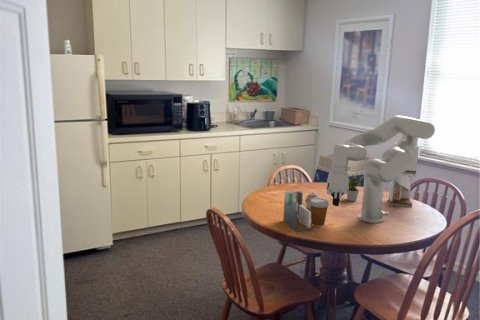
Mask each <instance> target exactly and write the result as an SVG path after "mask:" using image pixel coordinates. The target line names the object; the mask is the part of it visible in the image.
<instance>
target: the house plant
mask: <svg viewBox="0 0 480 320" xmlns="http://www.w3.org/2000/svg"><path fill="white" fill-rule="evenodd" d="M351 174H352V178H349V185H348V191H347V194H346V198H347V200H348V201H349V202H350V201H351V202H356V201H357V199H358V196H359V192H360V189H358V187H360V184H361V182H362V181H363V182H364V179H363V178H364V175H363V176H360V177H359V178H358V179H357V176H358V175H357V173H355V174H353V173H351ZM361 186H362V187H364V184H361Z"/></svg>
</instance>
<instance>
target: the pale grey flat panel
mask: <svg viewBox="0 0 480 320" xmlns="http://www.w3.org/2000/svg"><path fill="white" fill-rule="evenodd" d="M299 194H300V197H299V210H298V220H297V221H299V222H300V223H301V224H303V226H305V228H310V227H311V225H312V224H311V210H309V209H307V207H305V206H304V205H303V204H302V205H301V200H302V201H303V199H302V193H300V192H299Z"/></svg>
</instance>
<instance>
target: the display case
mask: <svg viewBox="0 0 480 320" xmlns="http://www.w3.org/2000/svg"><path fill="white" fill-rule="evenodd" d="M397 142H398V141H396V142H394V144H396V143H397ZM419 148H420V146H419V145H418V146H417V145H416V147H415V149H414V151H413V152H412V153H411V154H412V156H413V162H412V164H411V166H410V167H409V168H408V169H407V170H406V171H405V172H403V173H402V174H401V175H399V176H398V177H396V178H395V179H393V180H392V181H390V183H389V192H388V193H389V194H388V202H389V204H390V206H393V205H395V206H394V207H396V206H397V207H404V206H405V208H412V207H413V202H412V200H411V199H410V198H411V197H410V196H411V191H412V190H411V189H412V188H411V187H412V180H413V178H416V174H417V167H418V158H419V157H418V156H419Z"/></svg>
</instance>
